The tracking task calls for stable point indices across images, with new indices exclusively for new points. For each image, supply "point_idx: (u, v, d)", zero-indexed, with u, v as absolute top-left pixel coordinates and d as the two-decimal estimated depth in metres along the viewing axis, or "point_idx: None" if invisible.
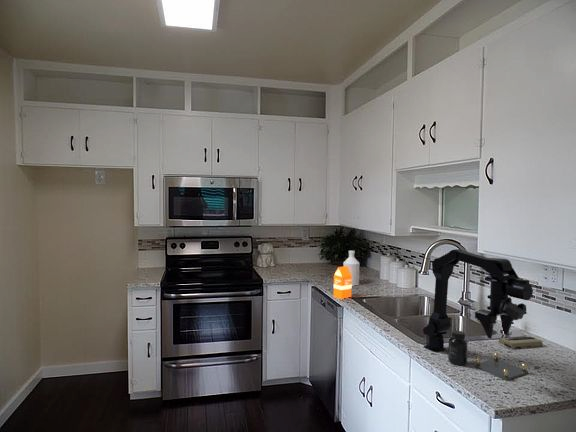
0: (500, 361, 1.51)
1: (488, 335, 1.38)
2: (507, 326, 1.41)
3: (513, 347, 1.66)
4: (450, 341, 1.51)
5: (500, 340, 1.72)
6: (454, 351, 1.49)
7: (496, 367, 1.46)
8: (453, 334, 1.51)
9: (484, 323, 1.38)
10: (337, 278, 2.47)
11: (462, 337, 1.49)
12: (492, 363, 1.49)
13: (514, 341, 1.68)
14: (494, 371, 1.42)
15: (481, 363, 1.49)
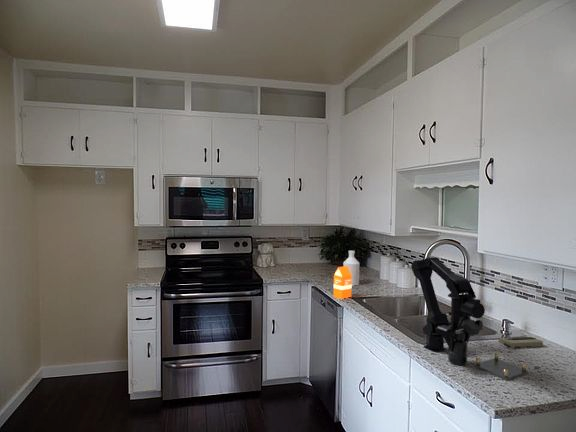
0: (500, 361, 1.51)
1: (450, 348, 1.50)
2: None
3: (512, 347, 1.66)
4: None
5: (500, 340, 1.73)
6: (454, 351, 1.49)
7: (496, 367, 1.46)
8: None
9: (446, 337, 1.50)
10: (337, 278, 2.47)
11: (462, 337, 1.49)
12: (492, 363, 1.49)
13: (513, 341, 1.68)
14: (494, 371, 1.42)
15: (481, 363, 1.49)
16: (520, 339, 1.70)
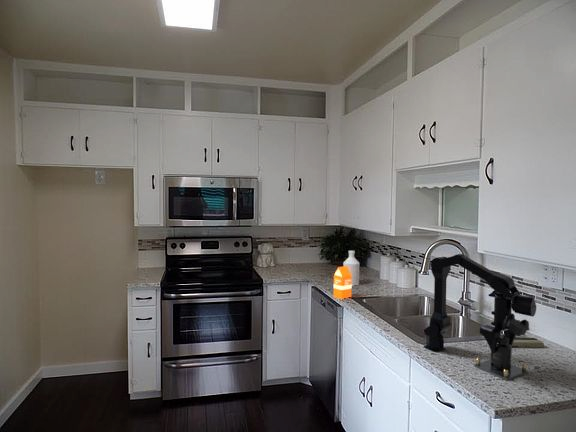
0: None
1: (492, 350, 1.43)
2: (510, 341, 1.47)
3: None
4: None
5: None
6: (498, 356, 1.43)
7: None
8: None
9: (488, 338, 1.43)
10: (337, 278, 2.47)
11: (506, 341, 1.43)
12: None
13: None
14: (494, 371, 1.42)
15: (481, 363, 1.49)
16: (520, 339, 1.70)
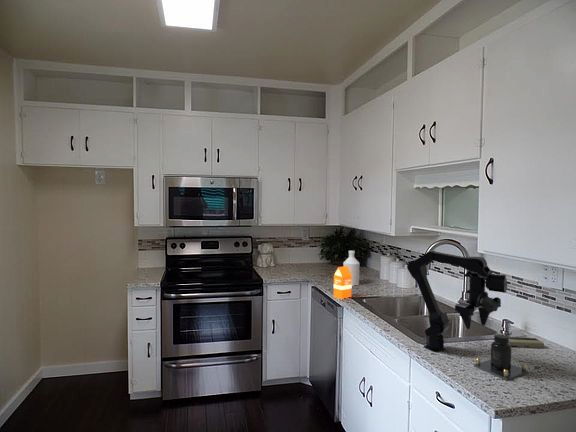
0: None
1: (467, 326, 1.52)
2: (484, 318, 1.56)
3: None
4: (493, 345, 1.45)
5: None
6: (498, 356, 1.43)
7: None
8: (496, 338, 1.44)
9: (463, 315, 1.53)
10: (337, 278, 2.47)
11: (506, 341, 1.43)
12: None
13: (511, 340, 1.69)
14: (494, 371, 1.42)
15: (481, 363, 1.49)
16: (520, 339, 1.70)
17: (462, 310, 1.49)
